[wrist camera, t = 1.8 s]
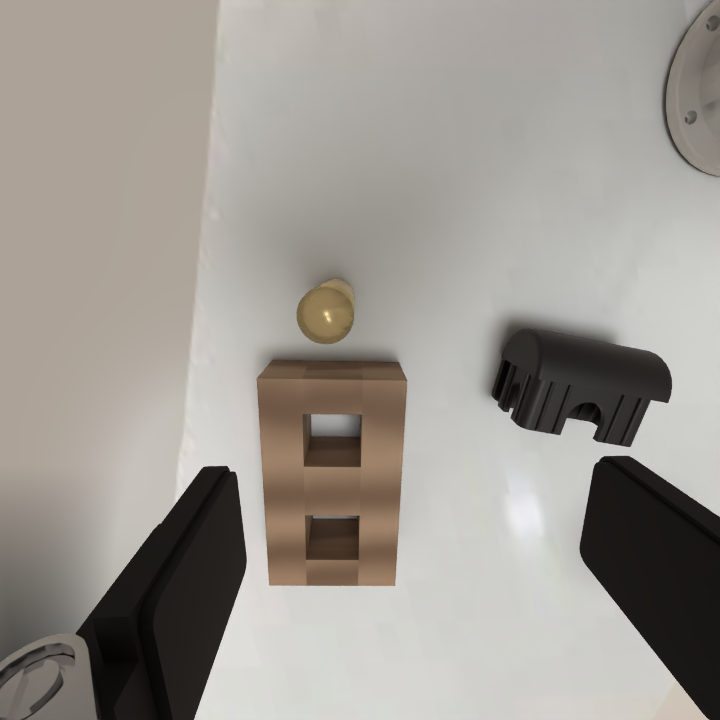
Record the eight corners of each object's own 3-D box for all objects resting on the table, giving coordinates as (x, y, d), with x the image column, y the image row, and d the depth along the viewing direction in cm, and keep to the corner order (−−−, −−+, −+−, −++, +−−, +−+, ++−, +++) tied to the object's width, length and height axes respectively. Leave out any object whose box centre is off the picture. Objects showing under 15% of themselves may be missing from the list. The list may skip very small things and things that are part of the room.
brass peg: (317, 278, 29) (295, 286, 18) (354, 279, 29) (354, 287, 18) (318, 315, 29) (297, 343, 19) (353, 315, 29) (353, 344, 19)
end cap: (617, 341, 30) (688, 362, 24) (588, 415, 32) (647, 453, 26) (507, 320, 30) (550, 335, 23) (484, 396, 32) (518, 431, 25)
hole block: (272, 360, 30) (256, 378, 25) (398, 362, 31) (407, 380, 26) (280, 541, 35) (269, 585, 30) (389, 542, 36) (395, 585, 31)
